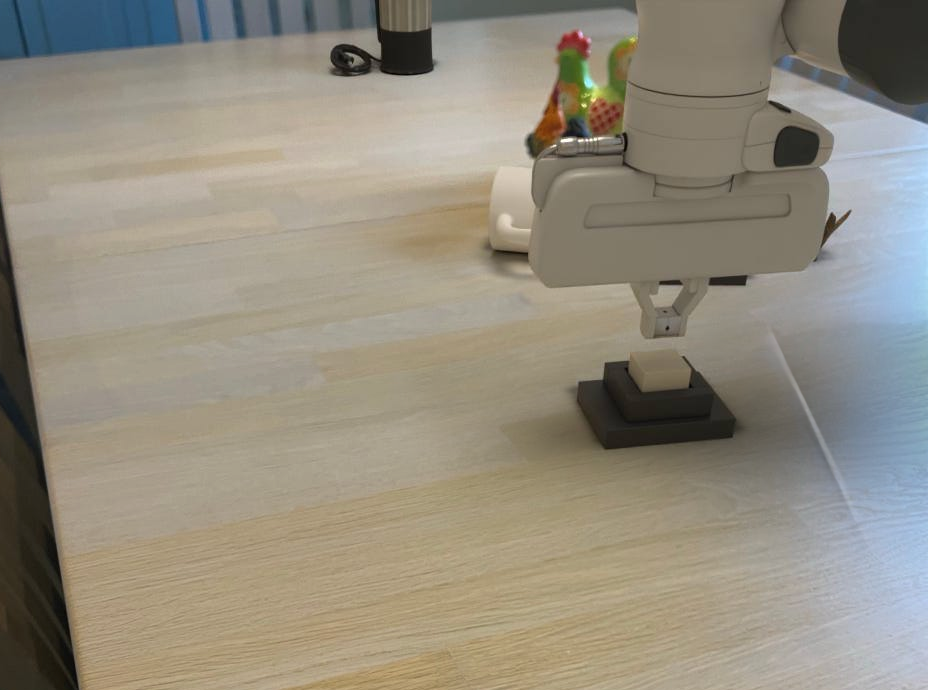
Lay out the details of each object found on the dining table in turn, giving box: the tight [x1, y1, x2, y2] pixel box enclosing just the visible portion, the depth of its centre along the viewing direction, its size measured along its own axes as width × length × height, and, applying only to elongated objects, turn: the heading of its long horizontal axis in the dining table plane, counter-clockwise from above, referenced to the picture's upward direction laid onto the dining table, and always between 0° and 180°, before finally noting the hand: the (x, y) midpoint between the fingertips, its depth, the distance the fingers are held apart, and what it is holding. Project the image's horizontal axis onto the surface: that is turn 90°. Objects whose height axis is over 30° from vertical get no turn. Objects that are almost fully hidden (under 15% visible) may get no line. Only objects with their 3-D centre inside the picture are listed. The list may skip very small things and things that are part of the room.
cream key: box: [628, 348, 691, 392], centre depth 76 cm, size 4×4×2 cm
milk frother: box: [329, 0, 435, 75], centre depth 166 cm, size 14×16×15 cm
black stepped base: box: [576, 355, 737, 451], centre depth 78 cm, size 10×8×4 cm
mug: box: [487, 165, 535, 254], centre depth 102 cm, size 12×10×8 cm
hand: (661, 335), depth 74 cm, fingers closed
